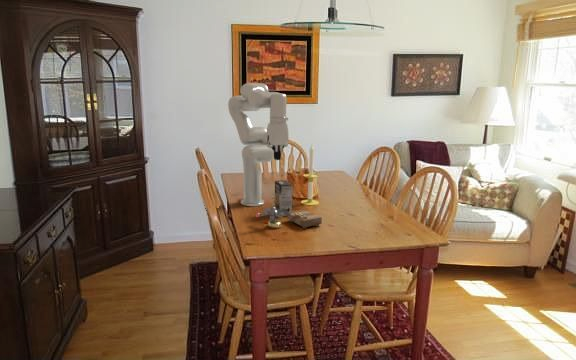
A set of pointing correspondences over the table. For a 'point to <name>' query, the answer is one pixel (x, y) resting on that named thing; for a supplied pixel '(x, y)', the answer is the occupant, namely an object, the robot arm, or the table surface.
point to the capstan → (272, 216)
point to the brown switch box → (304, 218)
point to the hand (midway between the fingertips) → (277, 159)
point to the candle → (310, 181)
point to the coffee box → (283, 196)
